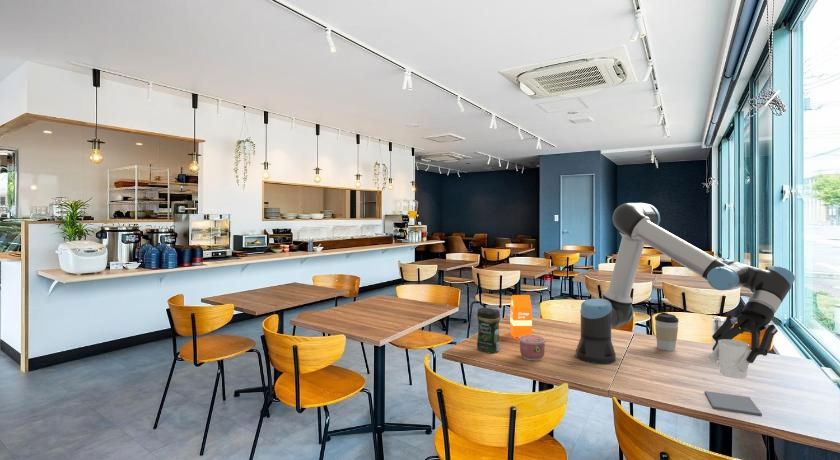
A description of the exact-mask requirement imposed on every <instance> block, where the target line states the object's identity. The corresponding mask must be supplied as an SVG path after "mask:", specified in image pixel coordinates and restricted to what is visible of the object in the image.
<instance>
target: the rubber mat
mask: <svg viewBox="0 0 840 460" xmlns="http://www.w3.org/2000/svg"><path fill="white" fill-rule="evenodd" d="M704 394H705V396H706V398H707V400H708V401H709V403H710V405H711V407H712V409H714V410H715V409H716V410H722V411H729V412H733V413H735V412H736V413H742V414H747V415H748V414H749V415H755V416H763V414H762V412H761V411H760V409H759V408H758V406H757V405H756V403H754V402H753V400H752V399H751V397H750V396H745V395H744V396H743V395H737V394H730V393H721V392H715V391H707V390H705V391H704Z"/></svg>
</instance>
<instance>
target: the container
mask: <svg viewBox="0 0 840 460" xmlns="http://www.w3.org/2000/svg"><path fill="white" fill-rule="evenodd" d="M518 340H519V350H520V351H519V352H520V355H521V356H522V358H523V359H524V358H525V359H524V360H526V359H527V361H530V360H538V361H541V360H542V358H544V356H545V352H546V350H545V347H546V338H545V337H542V336H540V335H534V334H532V335H524V336H521V337H520V338H518ZM540 359H541V360H540Z"/></svg>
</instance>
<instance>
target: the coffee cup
mask: <svg viewBox="0 0 840 460" xmlns="http://www.w3.org/2000/svg"><path fill="white" fill-rule="evenodd" d="M654 321H655V338H656V348H657V349H658V350H661V351H668V352H673V351H676V346H677V345H676V344H677V341H678V339H677V338H678V331H679V327H678V325H679V322H680V321H679V318H678V317H677V316H676V315H675V314H670V313H667V312H660V313H658V314H657V315H655V318H654Z"/></svg>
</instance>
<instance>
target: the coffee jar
mask: <svg viewBox="0 0 840 460" xmlns="http://www.w3.org/2000/svg"><path fill="white" fill-rule="evenodd" d="M476 319H477V321H478V323H477V324H478V331H477V332H478V333H477V342H476V349H477V350H478V351H480V350H481V351H480V352H483V351H484V352H485V353H488V352H489V353H488V354H495V353H494V352H496V353H497V352H500V350H501V341H500V329H499V328H500V326H499V325H500V321H501V314H500V310H499V309H497V308H490V307H485V306H482V307H479V308H478V309H477V313H476Z"/></svg>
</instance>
